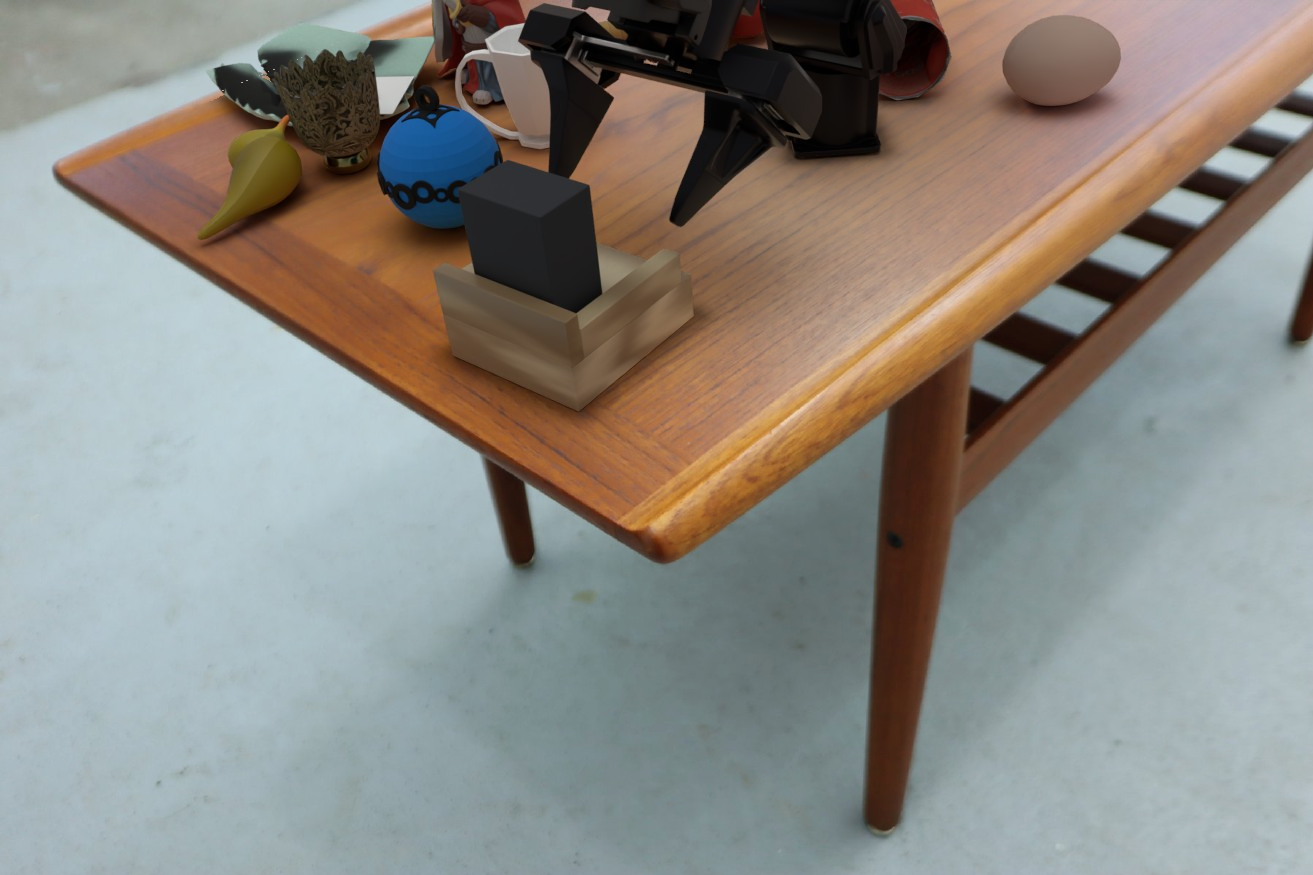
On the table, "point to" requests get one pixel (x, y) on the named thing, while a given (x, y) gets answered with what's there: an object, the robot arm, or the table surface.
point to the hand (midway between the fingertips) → (612, 204)
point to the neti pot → (256, 176)
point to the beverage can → (918, 52)
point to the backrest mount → (567, 325)
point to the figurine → (472, 39)
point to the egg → (1060, 60)
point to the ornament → (434, 160)
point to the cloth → (308, 39)
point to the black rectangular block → (533, 234)
